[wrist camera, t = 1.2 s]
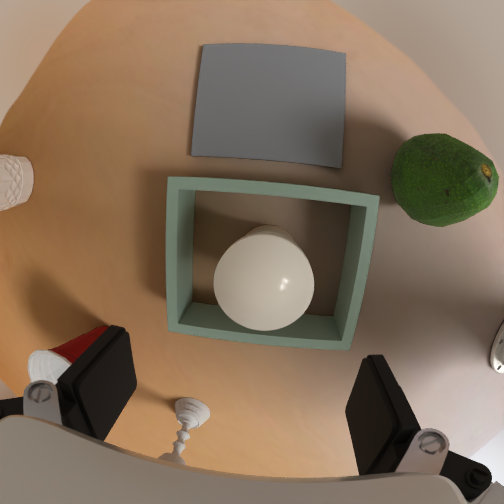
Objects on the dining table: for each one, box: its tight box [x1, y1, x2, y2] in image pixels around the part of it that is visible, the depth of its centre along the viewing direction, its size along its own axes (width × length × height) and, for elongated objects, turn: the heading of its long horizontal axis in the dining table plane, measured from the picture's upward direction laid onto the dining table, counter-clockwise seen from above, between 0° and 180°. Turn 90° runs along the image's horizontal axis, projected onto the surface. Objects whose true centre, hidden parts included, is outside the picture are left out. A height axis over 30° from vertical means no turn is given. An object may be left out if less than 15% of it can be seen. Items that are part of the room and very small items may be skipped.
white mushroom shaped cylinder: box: [214, 225, 314, 331], centre depth 24 cm, size 7×7×9 cm
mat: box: [191, 43, 346, 168], centre depth 24 cm, size 14×12×1 cm
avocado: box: [391, 133, 499, 227], centre depth 19 cm, size 8×8×12 cm
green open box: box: [166, 176, 380, 350], centre depth 26 cm, size 17×14×5 cm
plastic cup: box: [28, 326, 108, 385], centre depth 27 cm, size 11×11×12 cm
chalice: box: [157, 398, 210, 465], centre depth 26 cm, size 7×7×18 cm
